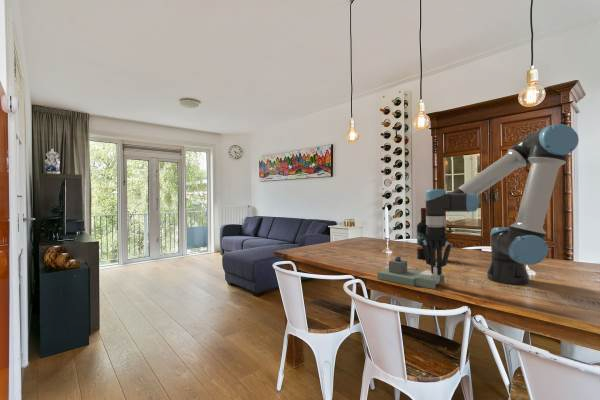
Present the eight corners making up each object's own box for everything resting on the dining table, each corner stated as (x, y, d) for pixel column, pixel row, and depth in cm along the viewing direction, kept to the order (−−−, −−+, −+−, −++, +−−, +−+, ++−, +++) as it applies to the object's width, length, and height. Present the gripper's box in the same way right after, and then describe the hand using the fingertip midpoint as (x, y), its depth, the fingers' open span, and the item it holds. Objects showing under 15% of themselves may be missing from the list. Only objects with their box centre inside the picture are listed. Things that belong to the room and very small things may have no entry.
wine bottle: (432, 260, 173) (431, 208, 173) (418, 259, 175) (417, 208, 174) (429, 257, 181) (428, 207, 180) (416, 257, 182) (415, 207, 182)
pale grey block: (438, 283, 129) (437, 272, 129) (431, 287, 124) (431, 275, 124) (426, 281, 132) (426, 270, 132) (419, 285, 127) (419, 273, 127)
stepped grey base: (445, 282, 130) (445, 259, 130) (433, 290, 120) (432, 265, 120) (392, 272, 148) (392, 252, 148) (377, 278, 138) (377, 257, 138)
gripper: (455, 226, 123) (456, 283, 124) (423, 224, 133) (424, 277, 133) (448, 227, 118) (449, 287, 119) (416, 225, 127) (417, 281, 128)
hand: (436, 282), depth 126 cm, fingers closed
